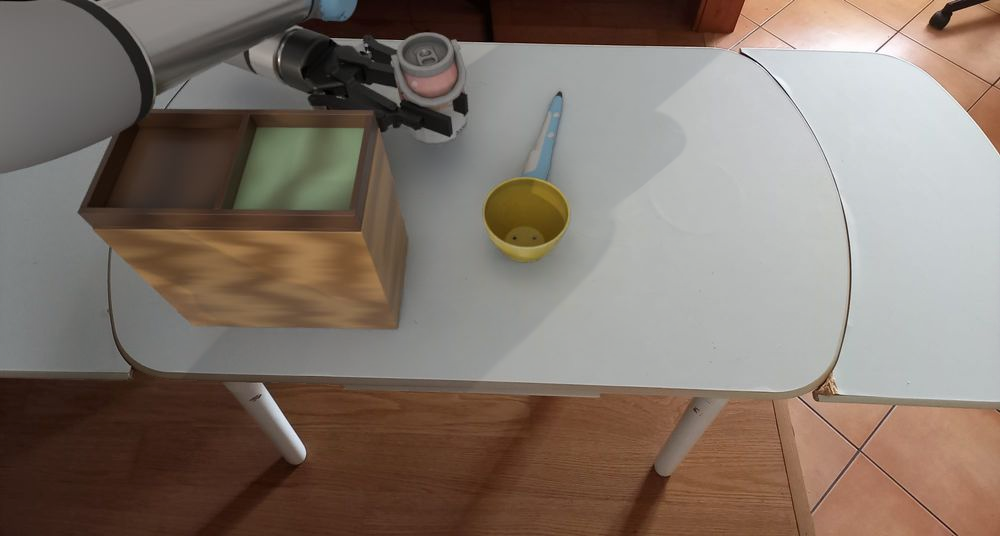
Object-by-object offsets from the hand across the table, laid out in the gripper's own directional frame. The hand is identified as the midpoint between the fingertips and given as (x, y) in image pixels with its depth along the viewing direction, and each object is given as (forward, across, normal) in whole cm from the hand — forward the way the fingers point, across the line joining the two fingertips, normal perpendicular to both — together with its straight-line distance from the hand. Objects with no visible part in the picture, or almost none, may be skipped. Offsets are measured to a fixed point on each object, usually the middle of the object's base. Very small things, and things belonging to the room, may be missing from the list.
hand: (458, 115), depth 73 cm
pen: (+7, -9, -11) cm, 16 cm away
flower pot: (+12, +6, -11) cm, 18 cm away
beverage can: (-5, -3, -7) cm, 9 cm away
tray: (-10, +23, +9) cm, 26 cm away
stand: (-10, +23, -11) cm, 27 cm away
